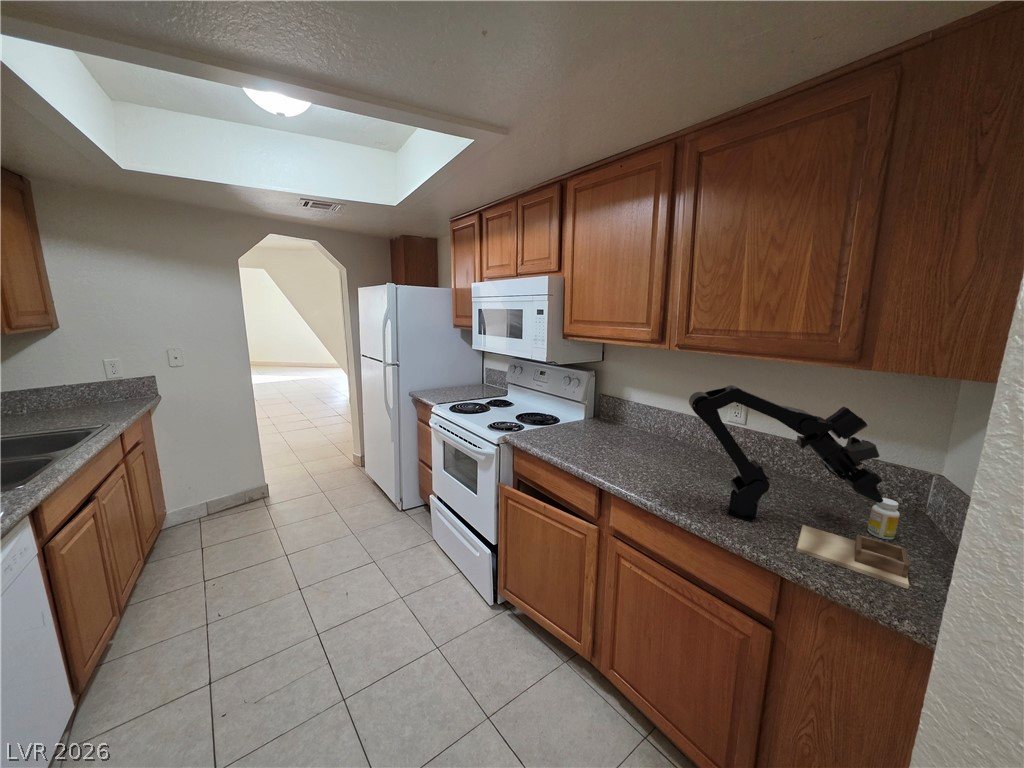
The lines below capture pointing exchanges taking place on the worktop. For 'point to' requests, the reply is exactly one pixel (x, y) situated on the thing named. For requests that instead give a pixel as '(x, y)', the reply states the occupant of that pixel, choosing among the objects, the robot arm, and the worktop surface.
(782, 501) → the worktop surface
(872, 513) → the supplement bottle
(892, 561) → the socket board
